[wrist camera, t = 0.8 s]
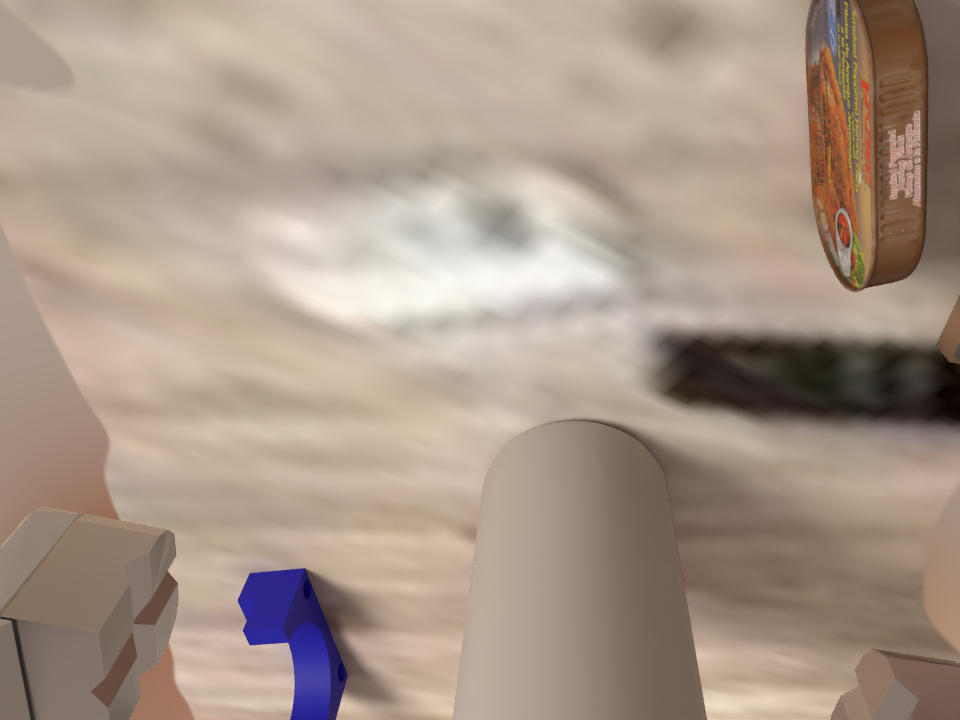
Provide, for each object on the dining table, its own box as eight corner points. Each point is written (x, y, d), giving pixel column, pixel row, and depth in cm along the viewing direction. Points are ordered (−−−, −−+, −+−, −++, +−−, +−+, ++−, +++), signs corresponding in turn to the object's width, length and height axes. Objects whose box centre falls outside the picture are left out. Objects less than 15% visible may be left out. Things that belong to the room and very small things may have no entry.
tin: (801, -28, 41) (853, -8, 33) (869, -44, 40) (938, -27, 33) (813, 254, 48) (859, 322, 40) (872, 244, 47) (928, 311, 40)
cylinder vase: (700, 512, 58) (783, 892, 36) (550, 582, 62) (543, 958, 40) (602, 383, 53) (628, 729, 32) (447, 468, 58) (378, 823, 36)
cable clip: (250, 571, 64) (223, 632, 59) (305, 566, 64) (282, 627, 59) (297, 676, 70) (276, 740, 65) (348, 673, 69) (330, 737, 64)
